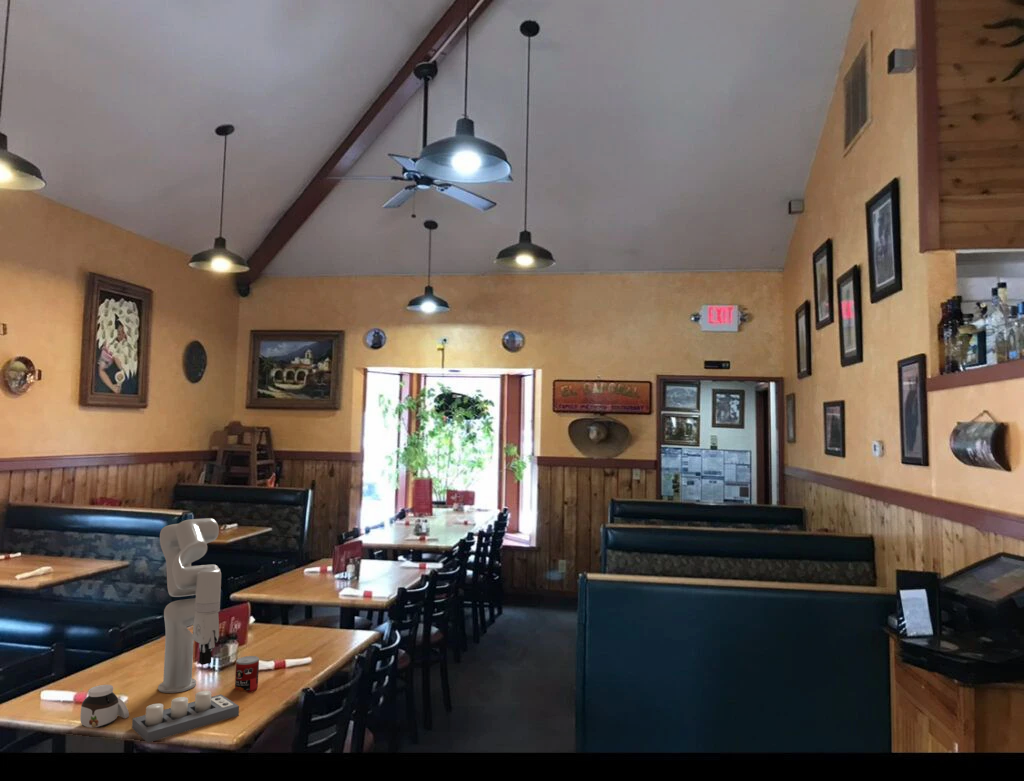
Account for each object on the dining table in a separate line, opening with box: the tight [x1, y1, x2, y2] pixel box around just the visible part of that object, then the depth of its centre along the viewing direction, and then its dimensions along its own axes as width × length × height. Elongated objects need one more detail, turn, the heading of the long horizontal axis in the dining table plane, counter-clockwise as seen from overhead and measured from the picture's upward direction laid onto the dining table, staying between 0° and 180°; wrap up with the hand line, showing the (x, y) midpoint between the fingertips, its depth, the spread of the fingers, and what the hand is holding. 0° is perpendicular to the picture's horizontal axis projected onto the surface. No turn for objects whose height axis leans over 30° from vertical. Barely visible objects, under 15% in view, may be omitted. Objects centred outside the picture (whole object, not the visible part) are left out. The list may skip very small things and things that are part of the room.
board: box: [131, 693, 240, 744], centre depth 215 cm, size 14×28×4 cm, turn 137°
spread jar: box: [79, 684, 130, 729], centre depth 216 cm, size 12×11×12 cm
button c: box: [145, 703, 164, 726], centre depth 208 cm, size 5×5×5 cm
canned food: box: [234, 655, 260, 693], centre depth 246 cm, size 8×8×11 cm
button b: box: [170, 696, 189, 719], centre depth 214 cm, size 5×5×5 cm
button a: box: [194, 690, 212, 712], centre depth 219 cm, size 5×5×5 cm
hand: (205, 663), depth 220 cm, fingers closed
